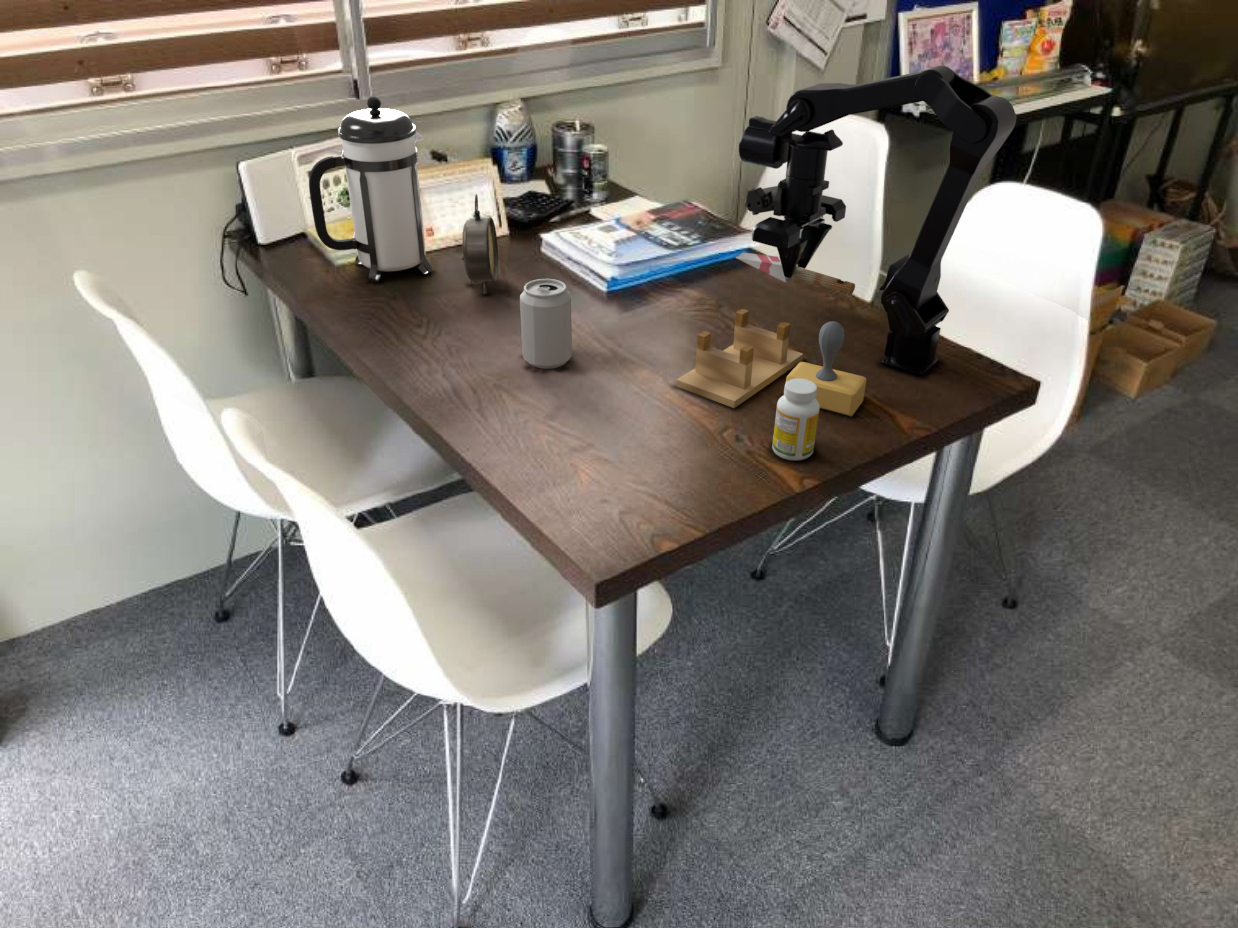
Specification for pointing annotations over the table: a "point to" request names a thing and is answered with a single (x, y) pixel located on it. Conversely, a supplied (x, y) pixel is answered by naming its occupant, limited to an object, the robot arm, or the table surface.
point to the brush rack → (740, 363)
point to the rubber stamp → (832, 375)
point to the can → (546, 323)
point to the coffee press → (377, 190)
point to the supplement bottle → (796, 420)
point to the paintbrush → (795, 272)
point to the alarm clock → (480, 249)
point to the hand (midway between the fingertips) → (794, 273)
